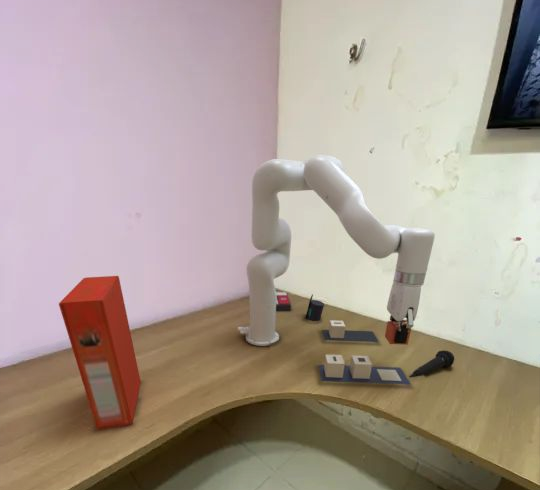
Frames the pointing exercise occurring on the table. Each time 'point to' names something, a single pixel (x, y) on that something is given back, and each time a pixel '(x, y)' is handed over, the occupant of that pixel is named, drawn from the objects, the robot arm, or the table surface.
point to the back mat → (352, 336)
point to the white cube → (334, 366)
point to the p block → (360, 367)
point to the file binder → (103, 349)
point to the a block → (336, 329)
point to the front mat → (376, 376)
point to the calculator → (282, 302)
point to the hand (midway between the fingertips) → (396, 337)
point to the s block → (394, 332)
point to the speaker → (314, 310)
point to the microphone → (435, 363)
